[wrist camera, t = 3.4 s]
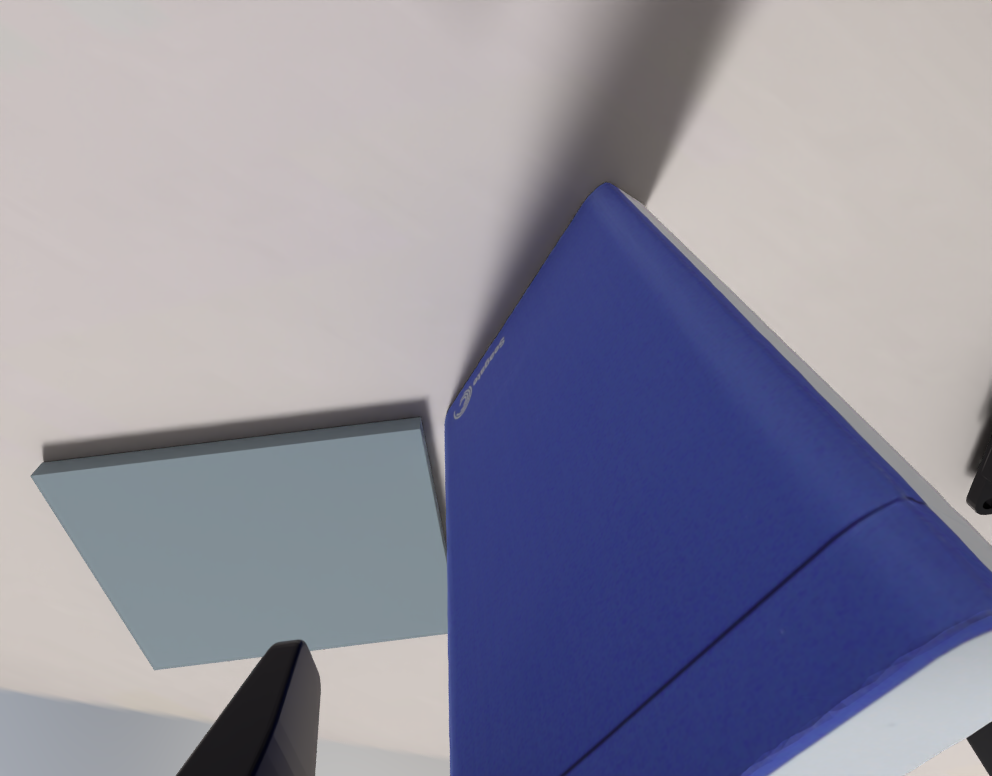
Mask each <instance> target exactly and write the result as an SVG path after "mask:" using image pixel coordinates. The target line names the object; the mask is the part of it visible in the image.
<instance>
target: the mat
mask: <svg viewBox="0 0 992 776" xmlns="http://www.w3.org/2000/svg"><path fill="white" fill-rule="evenodd" d="M31 478H32V479H33V481H34V482H35V484H36V485H37V487H38V489H39V490H40V492H41V493H42V495H43V496H44V498H45V499H46V501H47V503H48V504H49V506H50V507H51V509H52V510H53V512H54V514H55V515H56V517H57V518H58V520H59V521H60V523H61V525H62V526H63V528H64V529H65V531H66V532H67V534H68V536H69V537H70V539H71V540H72V542H73V543H74V545H75V547H76V548H77V550H78V551H79V553H80V554H81V556H82V558H83V559H84V561H85V562H86V564H87V565H88V567H89V569H90V570H91V572H92V573H93V575H94V576H95V578H96V579H97V581H98V583H99V584H100V586H101V587H102V589H103V590H104V592H105V594H106V595H107V597H108V598H109V600H110V601H111V603H112V605H113V606H114V608H115V609H116V611H117V612H118V614H119V616H120V617H121V619H122V620H123V622H124V623H125V625H126V627H127V628H128V630H129V631H130V633H131V634H132V636H133V638H134V639H135V641H136V642H137V644H138V645H139V647H140V649H141V650H142V652H143V653H144V655H145V656H146V658H147V660H148V661H149V663H150V664H151V666H152V667H153V669H154V670H160V669H168V668H176V667H184V666H192V665H200V664H208V663H216V662H224V661H232V660H240V659H248V658H256V657H263V656H264V654H265V653H266V652H267V650H268V649H269V648H270V647H271V646H272V645H273V644H275V643H277V642H281V641H289V640H297V639H301V640H303V641H305V642H306V644H307V646H308V648H309V651H313V650H321V649H329V648H337V647H345V646H353V645H361V644H369V643H377V642H385V641H393V640H401V639H409V638H417V637H425V636H433V635H441V634H448V617H447V592H448V588H447V549H446V544H445V539H444V534H443V529H442V523H441V518H440V513H439V508H438V503H437V498H436V493H435V487H434V482H433V477H432V472H431V467H430V462H429V457H428V451H427V446H426V441H425V436H424V431H423V426H422V421H421V417H417V418H409V419H400V420H392V421H384V422H375V423H367V424H359V425H351V426H342V427H334V428H326V429H317V430H309V431H301V432H292V433H284V434H276V435H268V436H259V437H251V438H243V439H234V440H226V441H218V442H210V443H201V444H193V445H185V446H176V447H168V448H160V449H151V450H143V451H135V452H127V453H118V454H110V455H102V456H93V457H85V458H77V459H69V460H60V461H52V462H44V463H42V464H41V465H40V466H39V467H38V468H37V469H36V470H35V471H34V473H33V474H32V475H31Z"/></svg>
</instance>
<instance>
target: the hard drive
mask: <svg viewBox="0 0 992 776" xmlns="http://www.w3.org/2000/svg"><path fill="white" fill-rule="evenodd" d="M444 426H445V489H446V532H447V588H448V592H447V617H448V660H449V738H450V776H905V775H906V774H908V773H909V772H911V771H913V770H914V769H916V768H917V767H919V766H920V765H922V764H923V763H925V762H927V761H928V760H930V759H931V758H933V757H934V756H936V755H938V754H939V753H941V752H942V751H944V750H946V749H948V748H949V747H951V746H953V745H955V744H957V743H958V742H960V741H962V740H964V739H965V738H967V737H969V736H970V735H972V734H973V733H975V732H976V731H978V730H979V729H981V728H982V727H984V726H985V725H987V724H988V723H990V722H992V546H991V545H990V544H989V543H988V542H987V541H986V540H985V539H984V538H983V537H982V536H981V535H980V533H979V532H978V531H977V530H976V529H975V528H974V527H973V526H972V525H971V524H970V523H969V522H968V521H967V520H966V519H965V518H964V517H962V516H961V515H960V514H959V513H958V512H957V511H956V510H955V509H954V508H952V507H951V506H950V505H949V503H948V502H947V501H946V500H945V499H944V498H943V497H942V496H941V495H940V493H939V492H938V491H937V490H936V489H935V488H934V487H933V486H932V485H931V484H930V483H929V482H927V481H926V480H925V479H924V478H923V477H922V476H921V475H920V474H919V473H918V472H917V471H916V470H915V469H914V468H913V467H912V466H911V465H910V464H909V463H908V462H907V461H906V460H905V459H904V458H903V457H902V456H901V455H900V454H899V453H898V452H897V451H896V450H895V449H894V448H893V447H892V446H891V445H890V444H889V443H888V442H887V441H886V440H885V439H884V438H883V437H882V436H881V435H880V434H879V433H878V432H877V431H875V430H874V429H873V428H872V427H871V426H870V425H869V424H868V423H867V422H866V421H865V420H864V419H863V418H862V417H861V416H860V415H859V414H858V413H857V412H856V411H855V410H854V409H853V408H852V407H851V406H850V405H849V404H848V403H847V402H846V401H845V400H844V399H843V398H842V397H841V396H840V395H839V394H837V393H836V392H835V391H834V390H833V389H832V388H831V387H830V386H829V385H828V384H827V383H826V382H825V381H824V380H823V379H822V378H821V377H820V376H819V375H818V374H817V373H816V372H815V371H814V370H813V369H812V368H811V367H810V366H809V365H808V364H807V363H806V362H805V361H804V360H802V359H801V358H800V357H799V356H798V355H797V354H796V353H795V352H794V351H793V350H792V349H791V348H790V347H789V346H788V345H787V344H786V343H785V342H784V341H783V340H782V339H781V338H780V337H779V336H778V335H777V334H776V333H775V332H774V331H772V330H771V329H770V328H769V327H768V326H767V325H766V324H765V323H764V322H763V321H762V320H761V319H760V318H759V317H758V316H757V315H756V314H755V313H754V312H753V311H752V310H751V309H750V308H749V307H748V306H747V305H746V304H745V303H744V302H743V301H742V300H741V299H740V298H739V297H738V296H737V295H736V294H735V293H734V292H733V291H732V290H731V289H729V288H728V287H727V286H726V285H725V284H724V283H723V282H722V281H721V280H720V279H719V278H718V277H717V276H716V275H715V274H714V273H713V272H712V271H711V270H710V269H709V268H708V267H707V266H706V265H705V264H704V263H703V262H702V261H701V260H700V259H698V258H697V257H696V256H695V255H694V254H693V253H692V252H691V251H690V250H689V249H688V248H687V247H686V246H685V245H684V244H683V243H682V242H681V241H680V240H679V239H678V238H677V237H676V236H675V235H674V234H673V233H671V232H670V231H669V230H668V229H667V228H666V227H665V226H664V225H663V224H662V223H661V222H660V221H659V220H658V219H657V218H656V217H655V216H654V215H653V214H652V213H651V212H650V211H649V210H648V209H647V208H646V207H645V206H644V205H643V204H642V203H640V202H639V201H638V200H636V199H635V198H633V197H631V196H630V195H628V194H627V193H625V192H624V191H622V190H621V189H619V188H617V187H616V186H614V185H612V184H611V183H607V182H605V183H603V184H602V185H600V186H599V187H597V188H596V189H595V190H594V191H593V192H592V193H591V194H590V195H589V196H588V197H587V199H586V200H585V201H584V203H583V204H582V206H581V207H580V209H579V210H578V212H577V213H576V215H575V217H574V218H573V220H572V221H571V223H570V224H569V226H568V228H567V229H566V231H565V232H564V233H563V235H562V236H561V237H560V239H559V241H558V242H557V244H556V246H555V247H554V249H553V250H552V251H551V253H550V254H549V256H548V258H547V260H546V261H545V262H544V264H543V265H542V267H541V268H540V270H539V272H538V274H537V275H536V277H535V278H534V280H533V281H532V282H531V284H530V286H529V287H528V288H527V290H526V291H525V293H524V295H523V296H522V298H521V300H520V301H519V303H518V304H517V305H516V307H515V308H514V310H513V312H512V313H511V315H510V316H509V318H508V319H507V321H506V323H505V324H504V326H503V327H502V329H501V330H500V332H499V333H498V335H497V337H496V338H495V340H494V341H493V342H492V344H491V345H490V346H489V348H488V350H487V351H486V353H485V355H484V356H483V358H482V359H481V360H480V362H479V364H478V366H477V367H476V369H475V370H474V371H473V373H472V375H471V376H470V378H469V379H468V381H467V382H466V384H465V385H464V387H463V389H462V390H461V391H460V393H459V395H458V396H457V398H456V399H455V401H454V402H453V404H452V405H451V407H450V408H449V410H448V412H447V415H446V419H445V425H444Z"/></svg>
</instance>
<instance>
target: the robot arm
mask: <svg viewBox="0 0 992 776" xmlns="http://www.w3.org/2000/svg"><path fill="white" fill-rule="evenodd" d="M966 502H967V504H968V505H969V506H970V507H971V508H972V509H973V510H974V511H975V512H976V513H978V514H980V515H988V514H992V436H991V438H990V441H989V443H988V446H987V448H986V451H985V453H984V456H983V458H982V461H981V463H980V466H979V468H978V471H977V473H976V476H975V478H974V480H973V483H972V485H971V488H970V490H969V493H968V495H967V499H966ZM320 695H321V683H320V676H319V673H318V670H317V668H316V665H315V663H314V660H313V658H312V655H311V653H310V651H309V648H308V646H307V644H306V642H305V641H303V640H301V639H297V640H289V641H281V642H277V643H275V644H273V645H272V646H271V647H270V648H269V649H268V650H267V652H266V653H265V654H264V656H263V657H262V658H261V660H260V661H259V663H258V664H257V665H256V667H255V668H254V669H253V671H252V672H251V674H250V675H249V676H248V678H247V679H246V680H245V682H244V683H243V684H242V686H241V687H240V689H239V690H238V691H237V693H236V694H235V695H234V697H233V698H232V700H231V701H230V702H229V704H228V705H227V706H226V708H225V709H224V710H223V712H222V713H221V715H220V716H219V717H218V719H217V720H216V721H215V723H214V724H213V726H212V727H211V728H210V730H209V731H208V732H207V734H206V735H205V736H204V738H203V739H202V741H201V742H200V744H199V745H198V746H197V747H196V749H195V750H194V752H193V753H192V754H191V756H190V757H189V758H188V760H187V761H186V763H185V764H184V765H183V767H182V768H181V769H180V771H179V772H178V773H177V775H176V776H315V767H316V753H317V738H318V724H319V709H320ZM966 739H967V740H968V742H969V744H970V745H971V747H972V748H973V750H974V751H975V753H976V755H977V756H978V758H979V759H980V761H981V763H982V764H983V766H984V767H985V769H986V771H987V772H988V774H989V775H990V776H992V722H990V723H988V724H987V725H985V726H984V727H982V728H981V729H979V730H978V731H976V732H975V733H973V734H972V735H970V736H969V737H967V738H966Z"/></svg>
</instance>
